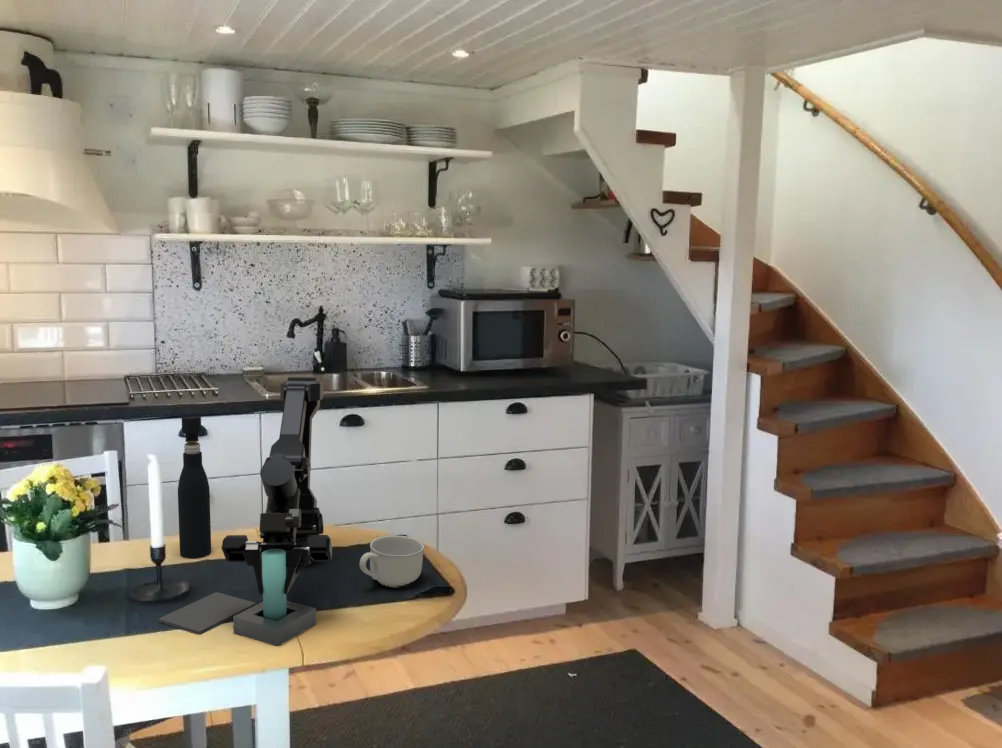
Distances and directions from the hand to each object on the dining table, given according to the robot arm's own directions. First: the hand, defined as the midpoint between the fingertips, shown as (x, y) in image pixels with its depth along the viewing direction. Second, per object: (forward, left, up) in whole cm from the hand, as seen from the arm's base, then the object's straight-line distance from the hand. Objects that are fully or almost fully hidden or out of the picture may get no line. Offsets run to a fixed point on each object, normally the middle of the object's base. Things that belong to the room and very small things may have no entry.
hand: (273, 593), depth 159 cm
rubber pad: (0, -15, -7) cm, 17 cm away
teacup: (-28, +5, -7) cm, 30 cm away
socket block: (-1, -1, -7) cm, 7 cm away
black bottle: (-21, -40, -7) cm, 46 cm away
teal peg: (-1, -1, -7) cm, 7 cm away
